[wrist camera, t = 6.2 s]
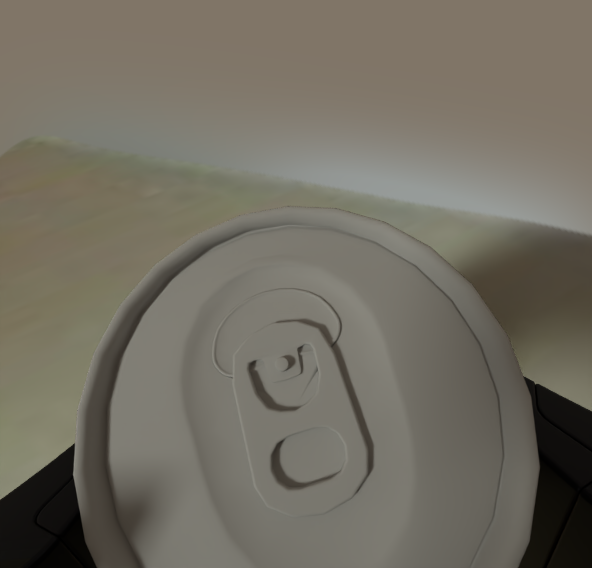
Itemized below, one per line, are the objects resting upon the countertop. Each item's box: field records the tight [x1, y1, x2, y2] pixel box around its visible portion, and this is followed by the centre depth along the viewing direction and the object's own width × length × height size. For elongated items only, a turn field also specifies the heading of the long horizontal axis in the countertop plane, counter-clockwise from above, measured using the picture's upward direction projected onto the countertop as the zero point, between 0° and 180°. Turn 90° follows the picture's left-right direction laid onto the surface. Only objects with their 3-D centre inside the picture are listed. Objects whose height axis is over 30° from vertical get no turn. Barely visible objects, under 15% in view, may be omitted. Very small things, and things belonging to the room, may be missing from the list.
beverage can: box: [73, 206, 540, 568], centre depth 9 cm, size 5×5×12 cm
